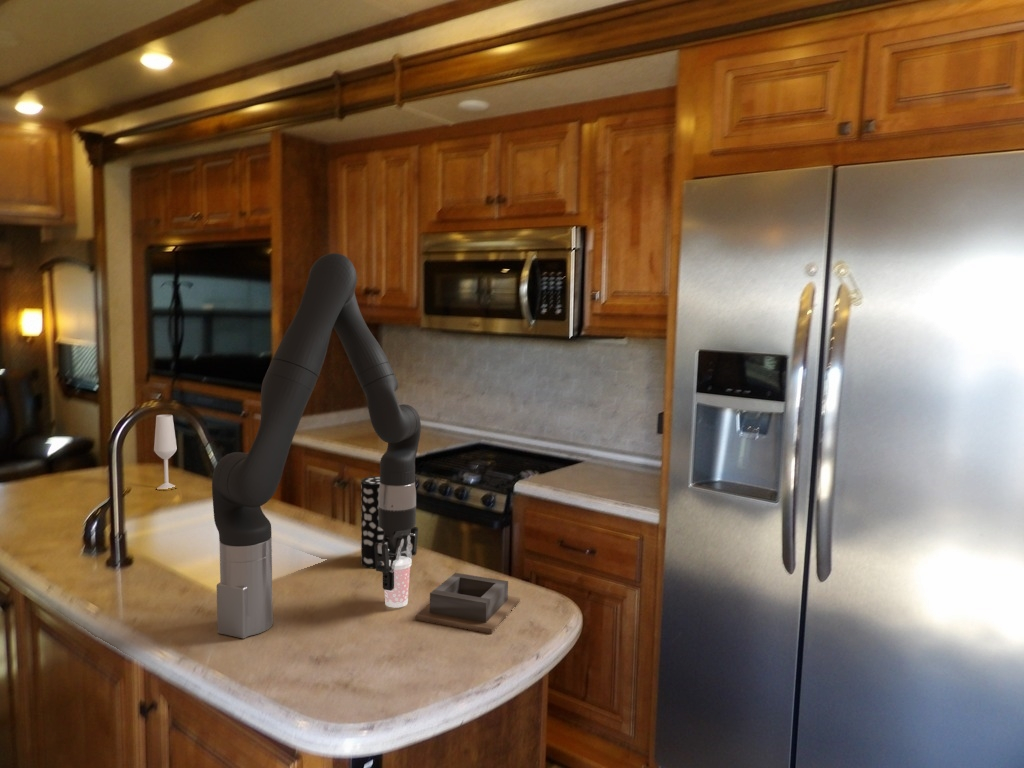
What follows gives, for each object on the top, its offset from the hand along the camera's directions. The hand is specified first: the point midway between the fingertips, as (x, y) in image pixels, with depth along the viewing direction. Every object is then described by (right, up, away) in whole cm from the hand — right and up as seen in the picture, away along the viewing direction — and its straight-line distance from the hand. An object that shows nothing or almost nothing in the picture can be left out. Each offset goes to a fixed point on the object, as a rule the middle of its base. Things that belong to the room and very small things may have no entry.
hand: (396, 583), depth 149 cm
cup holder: (+15, -5, -1) cm, 16 cm away
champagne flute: (-89, +7, +88) cm, 126 cm away
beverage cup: (0, -4, 0) cm, 4 cm away
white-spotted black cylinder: (-8, -2, +25) cm, 26 cm away
